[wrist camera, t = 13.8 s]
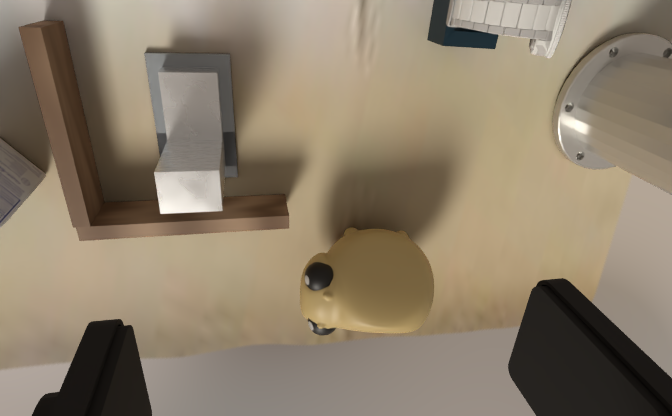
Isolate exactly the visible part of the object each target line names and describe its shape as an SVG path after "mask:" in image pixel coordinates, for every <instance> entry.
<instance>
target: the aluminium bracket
mask: <svg viewBox="0 0 672 416" xmlns="http://www.w3.org/2000/svg"><path fill="white" fill-rule="evenodd" d="M158 76H159V83H160V91H161V98H162V105H163V113H164V120H165V127H166V135H167V143H166V145H165V147H164V150H163V152H162V155H161V157H160V159H159V162H158V164H157V167H156V169H155V171H154V175H155V182H156V188H157V194H158V201H159V207H160V213H161V214H170V213H191V212H212V211H223V196H224V181H225V167H226V165H225V152H224V138H223V125H222V111H221V98H220V84H219V71H218V68H217V67H162V68H161V69H160V70H159V72H158Z"/></svg>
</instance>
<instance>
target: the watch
mask: <svg viewBox="0 0 672 416" xmlns="http://www.w3.org/2000/svg"><path fill="white" fill-rule="evenodd" d="M571 1H572V0H512V1H511V0H434V3H433V9H432V15H431V21H430V27H429V33H428V39H427V40H429V41H432V42H434V43H437V44H440V45H442V46H456V47H472V48H488V49H495V47H496V43H497V39H498V35H506V36H513V37H522V38H530V44H529V48H530V53H531V54H533V55H538V56H545V57H546V58H551V57H552V55H553V54H554V52H555V50H556V47H557V45H558V43H559V40H560V38H561V35H562V32H563V29H564V26H565V23H566V21H567V16H568V13H569V9H570V5H571ZM504 28H505V30H504ZM503 32H504V34H503Z"/></svg>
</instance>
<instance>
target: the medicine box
mask: <svg viewBox="0 0 672 416" xmlns="http://www.w3.org/2000/svg"><path fill="white" fill-rule="evenodd" d="M45 176H46V174H45V173H44V172H43V171H41V170H40V169H39V168H38V167H36V166H35V165H34V164H32V163H31V162H30V161H29V160H27V159H26V158H25V157H24V156H22V155H21V154H20V153H18V152H17V151H16V150H15V149H13V148H12V147H11V146H10V145H8V144H7V143H6V142H5V141H3V140H2V139H1V138H0V227H2V226H3V225H4V224H5V223H6V222H7V220H8V219H9V218H10V217H11V216H12V215H13V214H14V213H15V212H16V210H17V209H18V208H19V207H20V206H21V205H22V203H23V202H24V201H25V200H26V199H27V198H28V197H29V196H30V194H31V193H32V192H33V191H34V190H35V189H36V188H37V186H38V185H39V184H40V183H41V182H42V180H43V179H44V178H45Z"/></svg>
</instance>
